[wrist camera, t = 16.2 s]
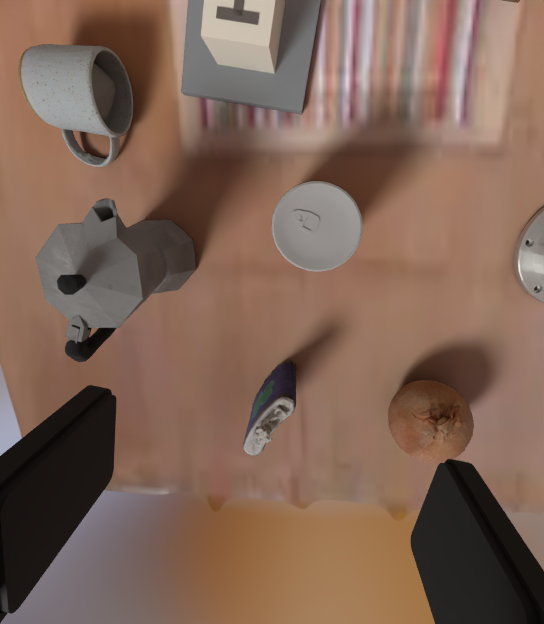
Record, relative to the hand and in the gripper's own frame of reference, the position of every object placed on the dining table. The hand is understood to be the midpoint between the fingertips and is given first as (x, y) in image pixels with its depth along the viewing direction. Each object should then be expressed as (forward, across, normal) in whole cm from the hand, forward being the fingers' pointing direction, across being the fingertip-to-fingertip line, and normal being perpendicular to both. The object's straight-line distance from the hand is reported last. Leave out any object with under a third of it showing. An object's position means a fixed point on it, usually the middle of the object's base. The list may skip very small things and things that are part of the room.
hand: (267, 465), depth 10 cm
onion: (+34, -19, +14) cm, 41 cm away
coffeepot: (+34, +17, +2) cm, 38 cm away
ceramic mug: (+34, +25, -13) cm, 44 cm away
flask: (+34, 0, +16) cm, 37 cm away
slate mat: (+33, +9, -23) cm, 41 cm away
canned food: (+34, -1, -6) cm, 34 cm away
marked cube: (+32, +9, -23) cm, 41 cm away
